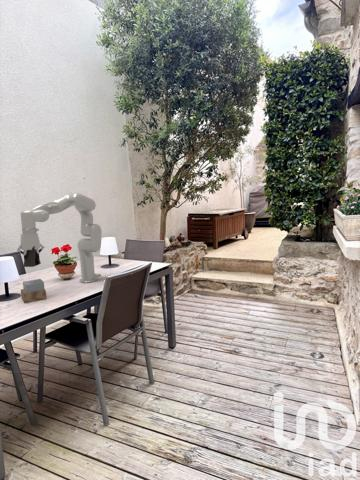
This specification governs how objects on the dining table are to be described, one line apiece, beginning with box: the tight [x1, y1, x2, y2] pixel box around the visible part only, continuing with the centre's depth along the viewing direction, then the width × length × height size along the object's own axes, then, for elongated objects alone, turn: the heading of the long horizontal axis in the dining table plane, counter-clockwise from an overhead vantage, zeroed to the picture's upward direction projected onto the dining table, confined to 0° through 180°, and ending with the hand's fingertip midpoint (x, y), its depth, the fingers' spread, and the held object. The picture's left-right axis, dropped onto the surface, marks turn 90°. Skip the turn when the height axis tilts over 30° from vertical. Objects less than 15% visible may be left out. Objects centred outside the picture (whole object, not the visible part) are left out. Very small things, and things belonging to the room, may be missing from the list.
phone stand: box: [23, 246, 41, 268], centre depth 182 cm, size 9×6×12 cm, turn 178°
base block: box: [20, 288, 47, 304], centre depth 185 cm, size 12×12×6 cm
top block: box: [22, 278, 46, 293], centre depth 184 cm, size 10×10×5 cm
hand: (31, 260), depth 183 cm, fingers closed on phone stand, 5 cm apart
